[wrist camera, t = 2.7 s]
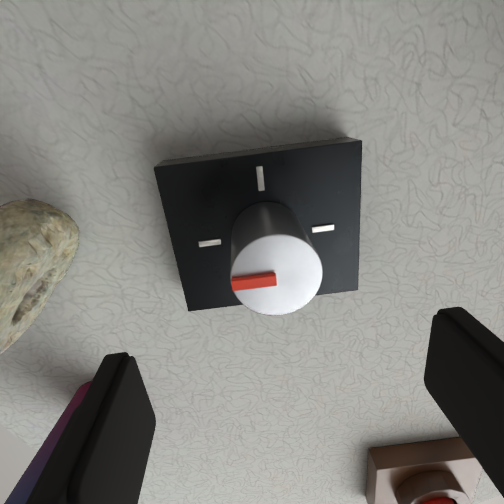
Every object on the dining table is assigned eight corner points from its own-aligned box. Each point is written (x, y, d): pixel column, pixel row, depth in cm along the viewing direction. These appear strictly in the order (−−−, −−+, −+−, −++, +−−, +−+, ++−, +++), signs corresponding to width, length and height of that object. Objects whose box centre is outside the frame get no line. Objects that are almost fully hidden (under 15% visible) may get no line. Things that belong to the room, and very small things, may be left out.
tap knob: (298, 197, 19) (323, 230, 14) (302, 261, 21) (325, 313, 16) (226, 206, 19) (223, 243, 14) (236, 270, 21) (237, 324, 16)
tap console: (348, 136, 20) (363, 140, 18) (346, 273, 24) (359, 291, 22) (162, 160, 20) (152, 167, 18) (192, 292, 24) (187, 313, 22)
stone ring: (49, 310, 24) (-62, 429, 15) (2, 287, 23) (-147, 401, 14) (108, 206, 21) (14, 279, 12) (57, 175, 20) (-88, 229, 11)
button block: (471, 435, 33) (501, 475, 30) (458, 485, 37) (482, 527, 33) (368, 448, 33) (384, 489, 30) (365, 497, 37) (379, 539, 33)
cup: (154, 416, 30) (86, 677, 16) (87, 432, 30) (-35, 700, 16) (123, 364, 27) (9, 626, 13) (50, 382, 27) (-134, 655, 14)
